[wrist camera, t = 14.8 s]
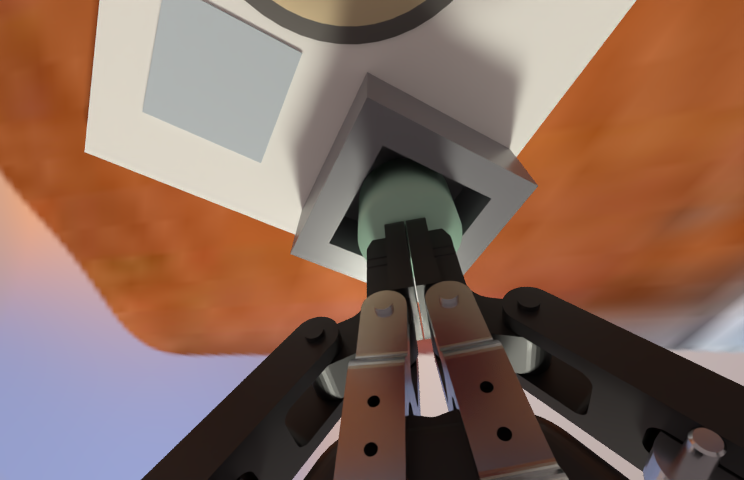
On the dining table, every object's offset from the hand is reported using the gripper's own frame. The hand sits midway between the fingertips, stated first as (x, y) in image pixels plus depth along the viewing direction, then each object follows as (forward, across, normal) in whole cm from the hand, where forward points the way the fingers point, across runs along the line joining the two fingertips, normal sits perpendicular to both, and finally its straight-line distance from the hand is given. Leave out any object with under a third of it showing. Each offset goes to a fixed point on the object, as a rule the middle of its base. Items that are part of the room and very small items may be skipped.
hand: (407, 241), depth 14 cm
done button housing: (+6, 0, 0) cm, 6 cm away
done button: (+3, 0, 0) cm, 3 cm away
